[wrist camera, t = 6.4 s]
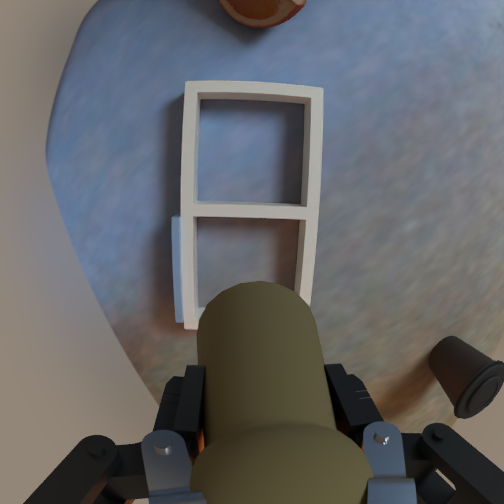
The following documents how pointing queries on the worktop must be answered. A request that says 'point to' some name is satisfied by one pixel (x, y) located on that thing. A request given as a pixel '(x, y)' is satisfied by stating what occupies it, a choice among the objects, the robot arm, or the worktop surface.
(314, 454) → the olive rounded piece
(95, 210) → the worktop surface
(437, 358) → the coffee cup
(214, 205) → the white flat rectangular frame
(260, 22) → the fruit slice
